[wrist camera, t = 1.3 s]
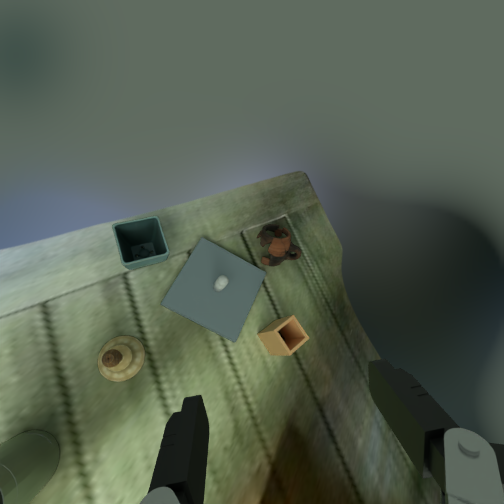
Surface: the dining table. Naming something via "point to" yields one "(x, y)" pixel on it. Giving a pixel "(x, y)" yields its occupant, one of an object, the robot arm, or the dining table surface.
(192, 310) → the post board
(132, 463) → the dining table surface
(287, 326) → the collar
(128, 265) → the flower pot
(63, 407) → the dining table surface
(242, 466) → the dining table surface
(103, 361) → the hand bell
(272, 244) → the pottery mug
